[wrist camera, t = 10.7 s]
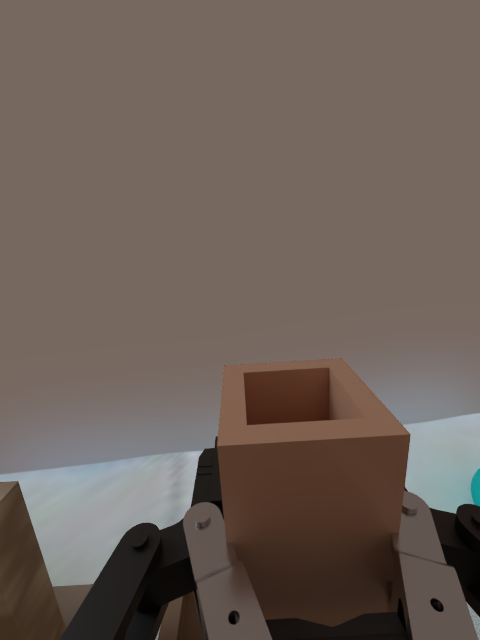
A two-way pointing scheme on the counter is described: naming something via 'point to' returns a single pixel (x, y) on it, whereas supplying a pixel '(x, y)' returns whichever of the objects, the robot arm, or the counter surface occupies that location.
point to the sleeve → (311, 487)
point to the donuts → (476, 488)
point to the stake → (29, 578)
